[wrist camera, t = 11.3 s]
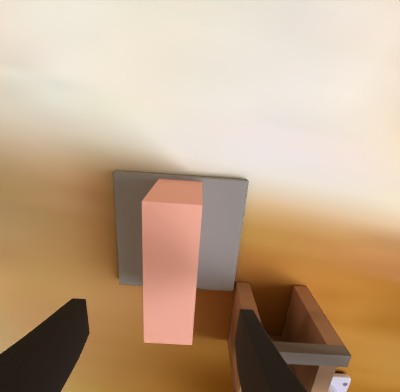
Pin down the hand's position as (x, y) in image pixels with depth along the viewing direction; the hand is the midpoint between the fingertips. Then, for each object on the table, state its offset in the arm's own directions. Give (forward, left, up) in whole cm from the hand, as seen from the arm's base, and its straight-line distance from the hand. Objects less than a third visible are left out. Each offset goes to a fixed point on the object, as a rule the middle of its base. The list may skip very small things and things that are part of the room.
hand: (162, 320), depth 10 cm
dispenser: (-7, -8, -9) cm, 14 cm away
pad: (0, 0, -9) cm, 9 cm away
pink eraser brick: (0, 0, -8) cm, 8 cm away
